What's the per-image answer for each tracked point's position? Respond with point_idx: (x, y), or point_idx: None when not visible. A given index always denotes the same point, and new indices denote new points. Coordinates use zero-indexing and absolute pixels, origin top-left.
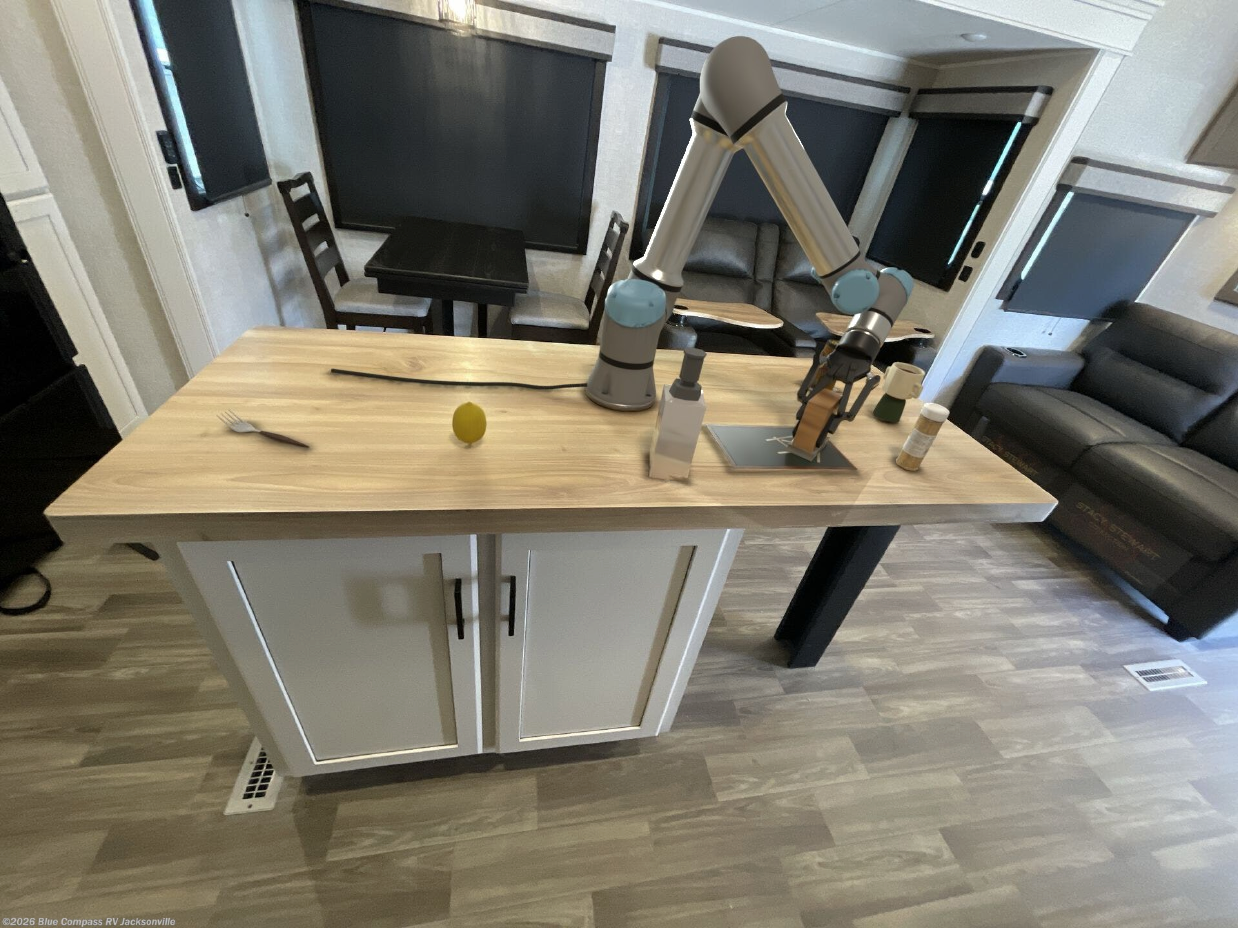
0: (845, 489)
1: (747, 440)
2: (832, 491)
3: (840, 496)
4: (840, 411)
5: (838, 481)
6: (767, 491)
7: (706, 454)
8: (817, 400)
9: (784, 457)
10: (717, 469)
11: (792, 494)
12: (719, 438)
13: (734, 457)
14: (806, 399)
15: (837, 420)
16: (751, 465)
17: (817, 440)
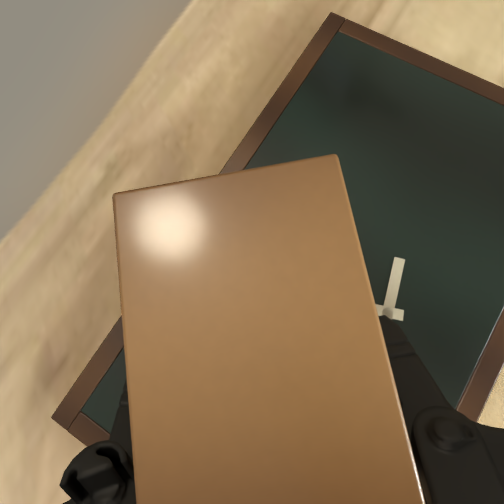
0: (55, 267)
1: (434, 185)
2: (82, 214)
3: (54, 212)
4: (94, 470)
5: (90, 292)
6: (212, 43)
7: (440, 31)
8: (294, 274)
9: None
10: (362, 4)
11: (159, 91)
12: (492, 102)
13: (372, 55)
14: (457, 428)
15: (127, 437)
16: (310, 67)
17: None
